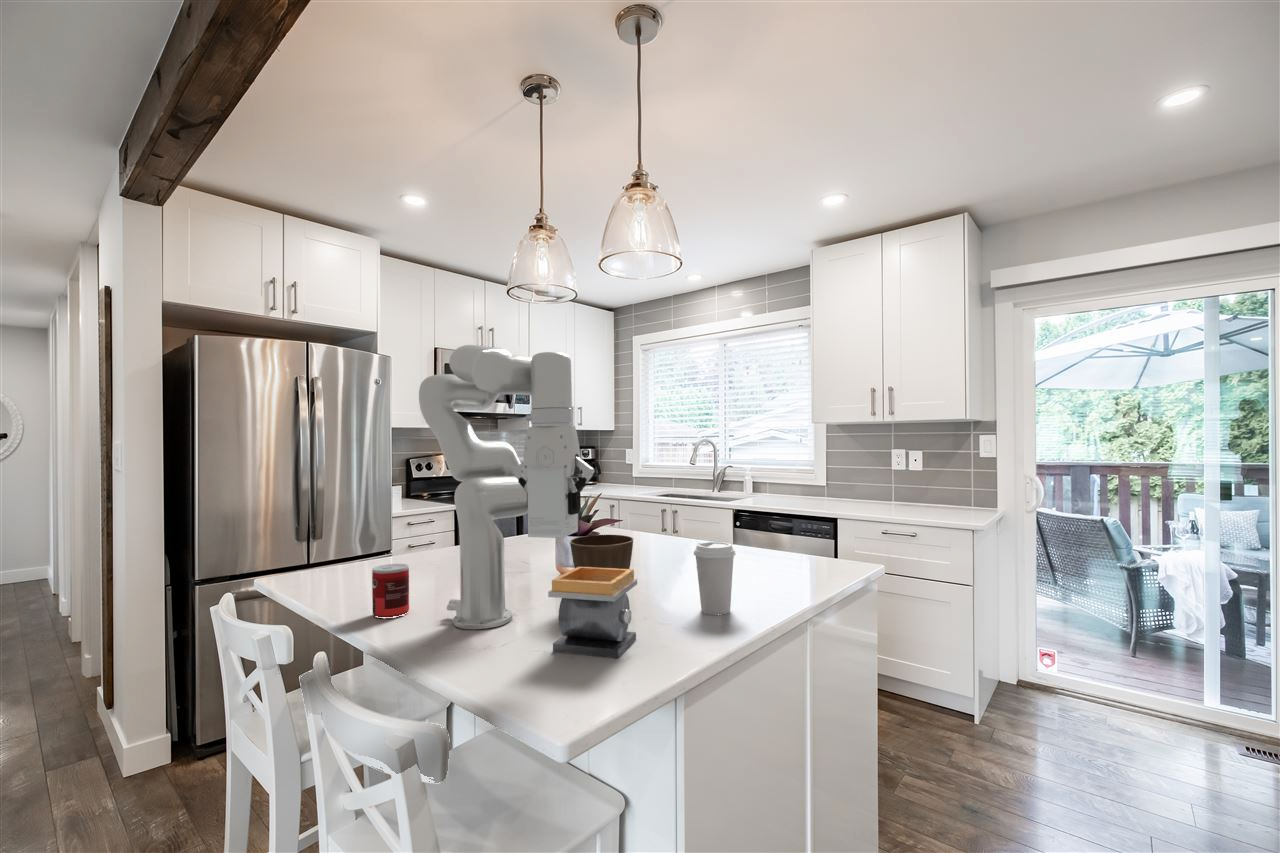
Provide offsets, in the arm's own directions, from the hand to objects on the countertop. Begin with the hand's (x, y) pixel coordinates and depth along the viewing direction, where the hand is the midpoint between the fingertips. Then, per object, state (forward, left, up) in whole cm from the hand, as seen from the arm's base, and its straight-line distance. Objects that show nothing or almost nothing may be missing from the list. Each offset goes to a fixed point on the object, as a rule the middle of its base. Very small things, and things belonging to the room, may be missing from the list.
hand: (553, 512), depth 108 cm
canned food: (-49, +13, -26) cm, 56 cm away
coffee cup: (+23, +34, -26) cm, 49 cm away
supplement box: (0, 0, -4) cm, 4 cm away
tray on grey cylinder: (+5, +6, -26) cm, 27 cm away
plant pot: (-3, +30, -26) cm, 40 cm away
